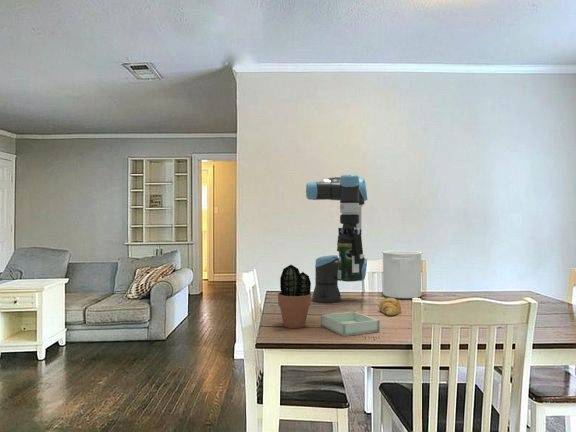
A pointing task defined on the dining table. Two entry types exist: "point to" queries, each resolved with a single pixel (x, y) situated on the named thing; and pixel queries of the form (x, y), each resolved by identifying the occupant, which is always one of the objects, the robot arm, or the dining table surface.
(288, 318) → the potted plant
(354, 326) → the bin
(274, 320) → the dining table surface
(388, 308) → the croissant
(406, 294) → the bucket
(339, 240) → the coffee jar
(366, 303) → the dining table surface
